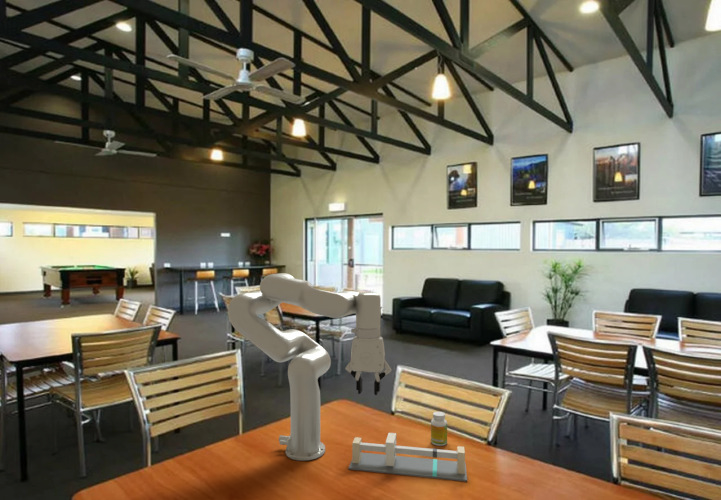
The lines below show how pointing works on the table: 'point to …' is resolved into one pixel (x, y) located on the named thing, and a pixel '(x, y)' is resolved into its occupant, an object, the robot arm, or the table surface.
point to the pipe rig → (410, 461)
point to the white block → (390, 449)
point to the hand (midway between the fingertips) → (368, 392)
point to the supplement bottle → (439, 429)
